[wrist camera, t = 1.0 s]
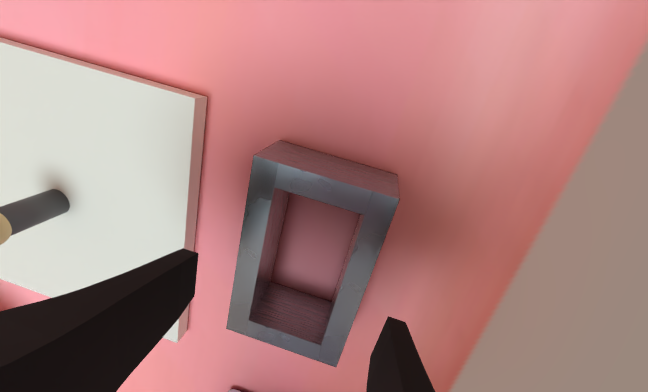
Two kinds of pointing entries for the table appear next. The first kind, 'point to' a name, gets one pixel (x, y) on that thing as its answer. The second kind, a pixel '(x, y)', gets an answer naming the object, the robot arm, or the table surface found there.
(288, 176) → the grey rectangular frame
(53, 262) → the keeper board
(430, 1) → the table surface
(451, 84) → the table surface
